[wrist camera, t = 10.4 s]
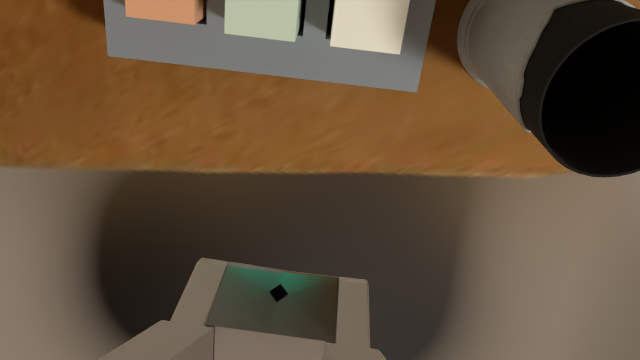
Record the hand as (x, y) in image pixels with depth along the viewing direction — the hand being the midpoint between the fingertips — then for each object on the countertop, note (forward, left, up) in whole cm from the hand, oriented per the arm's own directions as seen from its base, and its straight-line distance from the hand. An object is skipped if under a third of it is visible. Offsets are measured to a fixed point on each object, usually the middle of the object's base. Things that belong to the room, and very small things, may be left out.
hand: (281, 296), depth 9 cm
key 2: (-3, -1, -28) cm, 28 cm away
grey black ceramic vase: (-17, 0, -30) cm, 35 cm away
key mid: (+3, -1, -28) cm, 28 cm away
